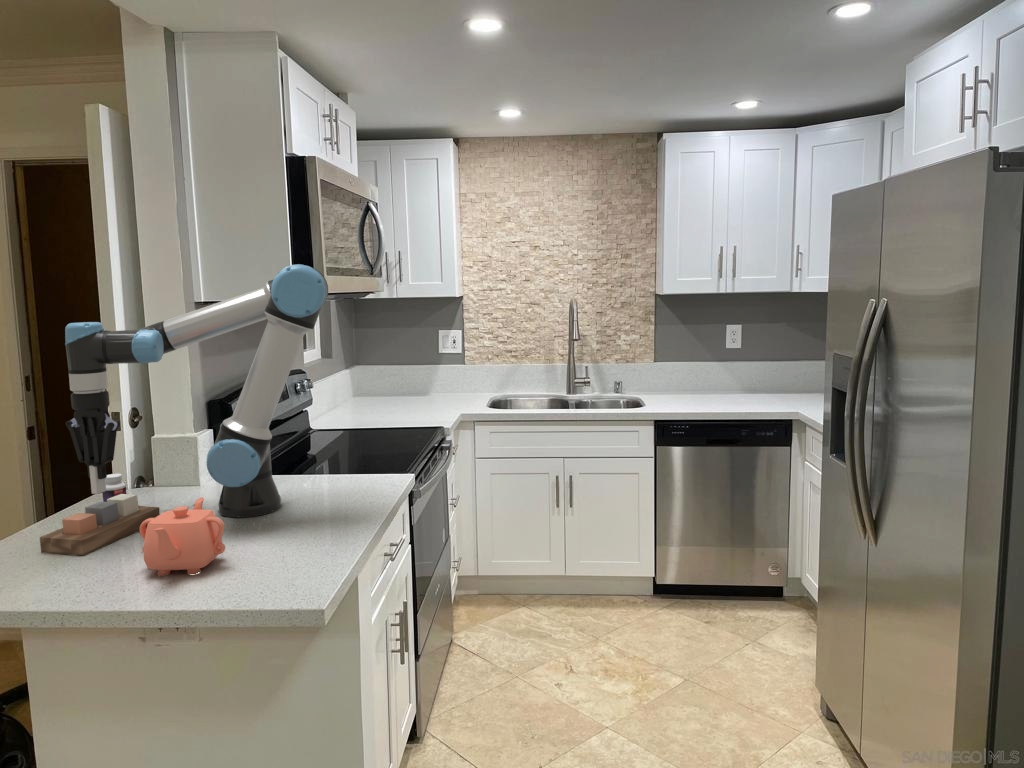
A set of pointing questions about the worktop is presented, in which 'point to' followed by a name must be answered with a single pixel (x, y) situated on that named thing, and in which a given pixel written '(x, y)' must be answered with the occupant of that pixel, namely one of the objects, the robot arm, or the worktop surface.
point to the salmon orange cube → (79, 523)
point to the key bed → (96, 534)
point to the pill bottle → (113, 486)
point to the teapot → (182, 539)
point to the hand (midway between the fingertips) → (99, 492)
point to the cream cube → (125, 504)
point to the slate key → (103, 512)
